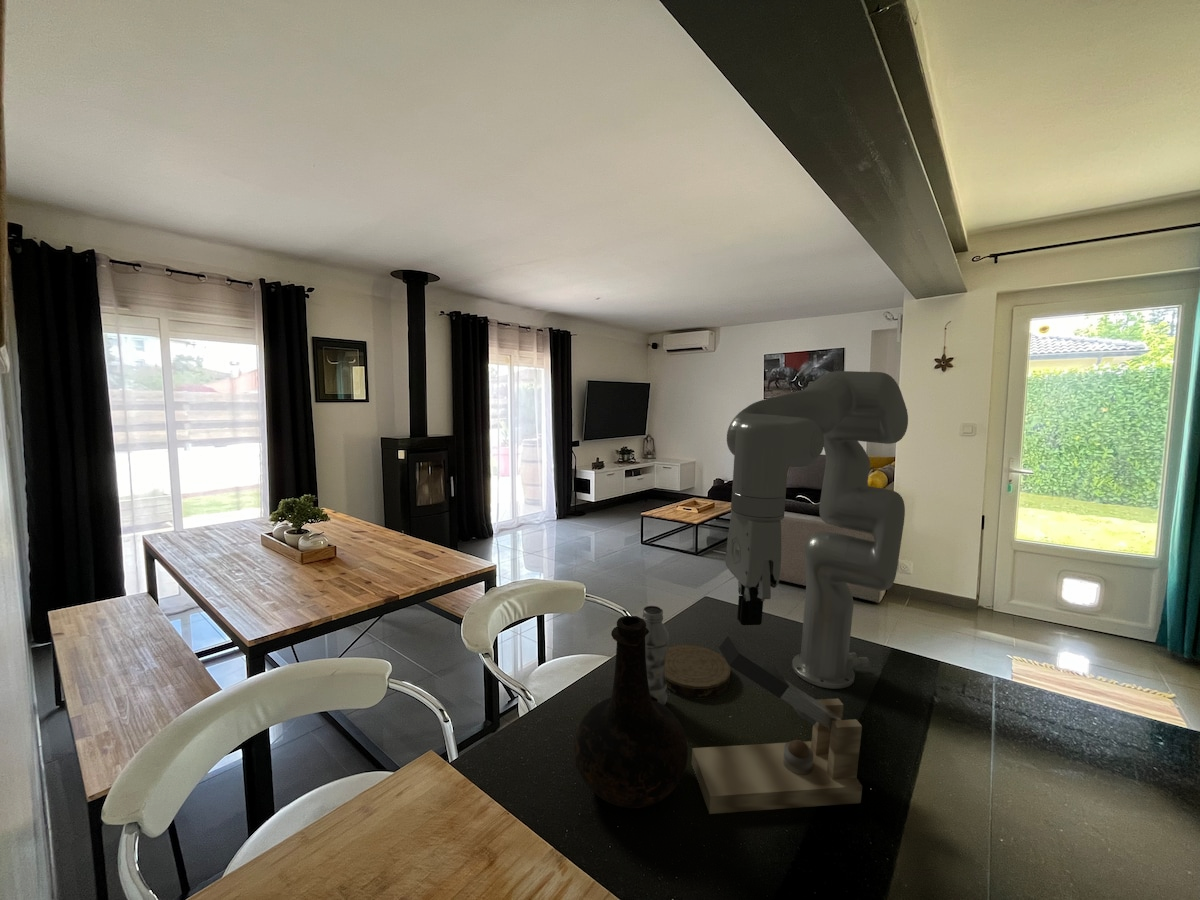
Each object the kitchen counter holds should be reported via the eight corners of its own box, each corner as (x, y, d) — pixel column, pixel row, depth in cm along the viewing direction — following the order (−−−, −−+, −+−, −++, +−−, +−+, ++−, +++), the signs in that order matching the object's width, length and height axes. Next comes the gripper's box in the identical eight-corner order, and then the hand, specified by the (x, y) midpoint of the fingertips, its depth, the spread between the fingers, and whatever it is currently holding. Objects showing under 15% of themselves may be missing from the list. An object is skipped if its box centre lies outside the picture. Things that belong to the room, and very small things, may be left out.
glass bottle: (697, 762, 90) (705, 607, 85) (666, 849, 74) (673, 664, 69) (601, 731, 97) (604, 587, 92) (554, 804, 81) (553, 634, 76)
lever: (821, 721, 87) (834, 706, 87) (838, 743, 83) (851, 726, 82) (714, 652, 83) (727, 635, 83) (725, 671, 79) (739, 653, 78)
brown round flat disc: (686, 709, 104) (686, 695, 103) (641, 668, 118) (641, 655, 117) (746, 686, 112) (746, 673, 111) (697, 650, 125) (697, 638, 125)
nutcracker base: (827, 755, 92) (833, 692, 90) (860, 803, 82) (868, 733, 80) (691, 764, 89) (694, 699, 87) (709, 813, 79) (713, 742, 77)
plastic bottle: (666, 717, 101) (669, 619, 97) (630, 712, 102) (633, 615, 99) (668, 697, 107) (672, 604, 104) (635, 692, 108) (637, 600, 105)
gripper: (716, 492, 84) (710, 601, 87) (752, 519, 70) (743, 649, 72) (762, 492, 85) (754, 600, 88) (806, 519, 70) (795, 647, 73)
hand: (749, 622), depth 80 cm, fingers closed
